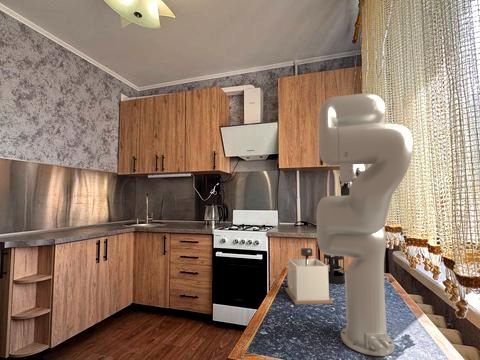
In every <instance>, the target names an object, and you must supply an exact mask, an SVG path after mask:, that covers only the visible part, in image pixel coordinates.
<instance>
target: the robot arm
mask: <svg viewBox="0 0 480 360" xmlns="http://www.w3.org/2000/svg"><path fill="white" fill-rule="evenodd" d="M318 116H319V117H318V153H319V158H320V160H321V161H322V162H323V164H326V165H327V166H328V165H329V166H339V176H338V180H339V186H340V195H327V196H324V197H322V198H320V200H319V202H318V204H317V207H316V214H315V215H316V217H315V219H316V241H317V242H316V243H317V245H318V249H319V251H320V252H321V253H322V254H323V255H324V254H326V255H332V256H331V257H333V256H344V257H346V258H347V257H348V258H349V257H350V258H353V259H352V261H351V262H350V263H349V264H348V266H347V267H346V268H345V271H344V273H345V283H344V284H345V285H344V286H345V289H344V290H345V316H346V327H343V329H342V330H341V331H340V338H341V341H342V343H344V344H345V345H346V346H347V347H348V348H350V349H352V350H353V351H355V352H359V353H361V354H364V355H369V356H373V357H374V356H375V357H385V356H389V355H390V354H392V353H393V352H394V351H395V343H394V341H393V340H392V338H390V337H389V334H388V333H387V315H386V313H387V311H386V295H385V294H386V293H385V257H386V249H387V234H386V233H387V232H386V231H385V229H384V226H385V224H386V221H387V217H388V214H389V211H390V206H391V202H392V198H393V195H394V193H395V191H396V190H397V188H398V187H399V185H401V183H402V181H403V180H404V178H405V176H406V174H407V172H408V170H409V167H410V164H411V162H412V156H413V151H414V150H413V148H414V145H413V144H414V143H413V141H414V140H413V136H412V133H411V131H410V130H409V129H408V128H407V127H405V126H404V125H402V124H398V123H390V122H389V123H388V122H385V121H386V119H385V118H386V104H385V101H384V100H383V99H382V98H381V97H380V96H379V95H377V94H373V93H370V92H369V93H368V92H367V93H366V92H364V93H355V94H349V95H339V96H332V97H331V96H330V97H329V98H327V99H324V102H323V103H322V105H321V106H320V110H319V113H318ZM365 165H370V166H369V167H367V168H365V167H366V166H365ZM350 183H351V184H350Z"/></svg>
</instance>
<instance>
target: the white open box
mask: <svg viewBox="0 0 480 360" xmlns="http://www.w3.org/2000/svg"><path fill="white" fill-rule="evenodd" d="M308 260H309V266H305V258H292V259H291V258H289V259H287V266H286V267H287V270H286V271H287V272H286V273H287V276H286V277H287V286H288V287H286V288H285V292H286V293H287V295H288V296H289V298H290V299H291V301H292V302H293V303H294V305H320V304H321V305H324V304H325V305H326V304H334V300H333V299H332V298H330V291H329V290H330V288H329V287H330V286H329V284H330V283H329V281H328V271H329V270H328V266H327V265H328V264H326V263H325V264H324V262H322V261H320V259H318V258H308Z"/></svg>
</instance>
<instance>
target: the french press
mask: <svg viewBox="0 0 480 360" xmlns="http://www.w3.org/2000/svg"><path fill="white" fill-rule="evenodd" d="M326 259H327V260H329V264H326ZM340 260H341V261H342V265H340ZM323 263H324V264H325V265H327V266H328V281H329V284H332V285H344V284H345V256H332V255H326V254H324V253H323ZM341 271H342V272H341Z"/></svg>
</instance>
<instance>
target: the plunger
mask: <svg viewBox="0 0 480 360" xmlns="http://www.w3.org/2000/svg"><path fill="white" fill-rule="evenodd" d="M313 254H314V253H313V248H310V247H301V248H300V255H301V256H303V257H304V259H305V266H309V260H308V259H309V257H313V256H314V255H313Z"/></svg>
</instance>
